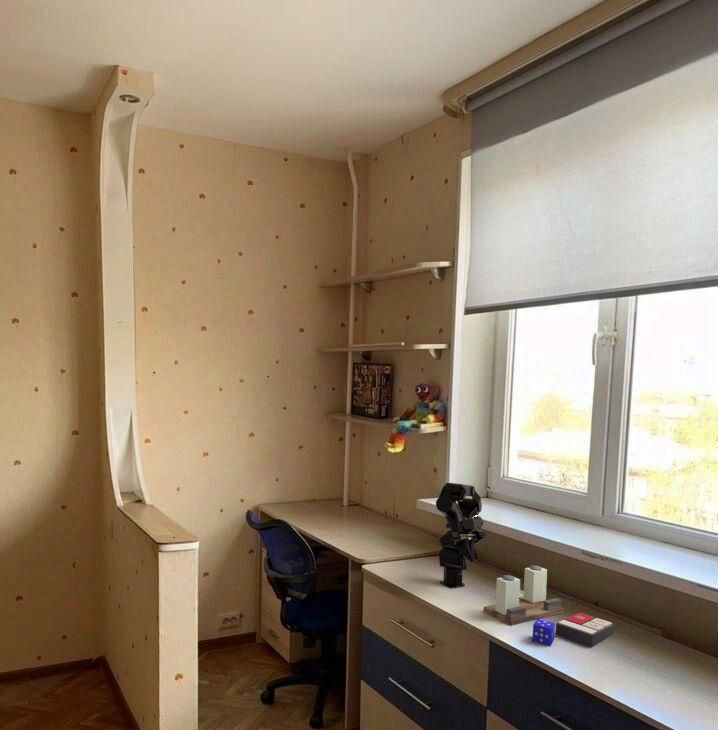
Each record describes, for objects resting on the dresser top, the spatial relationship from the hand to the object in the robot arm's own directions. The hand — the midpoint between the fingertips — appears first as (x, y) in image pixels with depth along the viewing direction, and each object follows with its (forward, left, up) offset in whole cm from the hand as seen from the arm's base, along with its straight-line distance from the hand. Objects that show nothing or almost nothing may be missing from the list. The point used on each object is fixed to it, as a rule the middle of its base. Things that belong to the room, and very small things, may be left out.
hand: (473, 561), depth 209 cm
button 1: (+16, 0, -11) cm, 19 cm away
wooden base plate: (+15, +8, -13) cm, 22 cm away
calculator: (+35, +12, -13) cm, 40 cm away
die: (+33, -3, -13) cm, 36 cm away
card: (+4, +19, -13) cm, 24 cm away
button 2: (+12, +16, -11) cm, 23 cm away
